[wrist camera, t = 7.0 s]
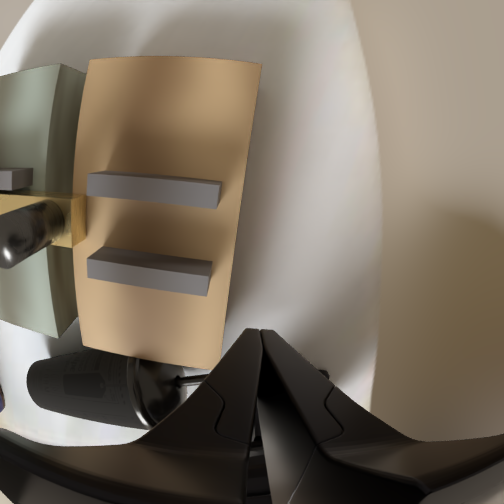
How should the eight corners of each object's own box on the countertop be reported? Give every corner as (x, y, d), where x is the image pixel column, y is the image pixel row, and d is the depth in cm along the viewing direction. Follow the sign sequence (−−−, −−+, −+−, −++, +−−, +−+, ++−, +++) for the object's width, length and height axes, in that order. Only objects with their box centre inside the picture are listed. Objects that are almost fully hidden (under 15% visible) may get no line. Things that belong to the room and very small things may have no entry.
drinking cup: (51, 439, 19) (263, 450, 16) (1, 379, 17) (223, 372, 14) (81, 388, 26) (265, 373, 23) (43, 330, 24) (237, 294, 21)
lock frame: (256, 86, 17) (265, 50, 10) (222, 328, 22) (217, 393, 16) (10, 91, 16) (-49, 83, 9) (9, 285, 21) (-38, 321, 14)
